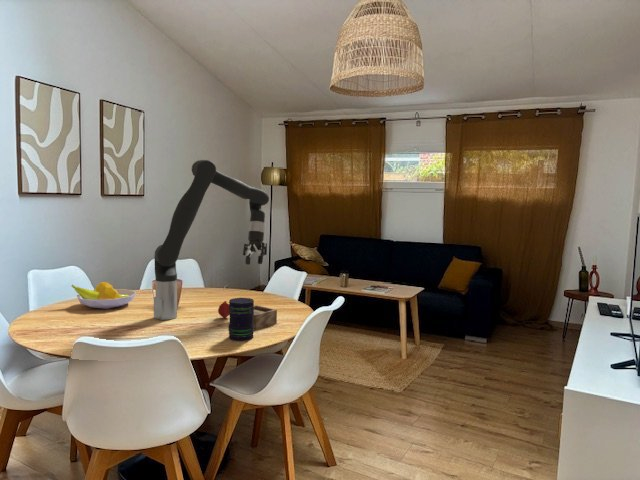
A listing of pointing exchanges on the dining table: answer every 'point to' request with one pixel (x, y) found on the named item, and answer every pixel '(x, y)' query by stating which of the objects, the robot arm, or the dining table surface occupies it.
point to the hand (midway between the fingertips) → (253, 264)
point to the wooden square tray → (264, 317)
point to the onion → (224, 309)
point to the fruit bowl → (104, 296)
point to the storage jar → (241, 319)
